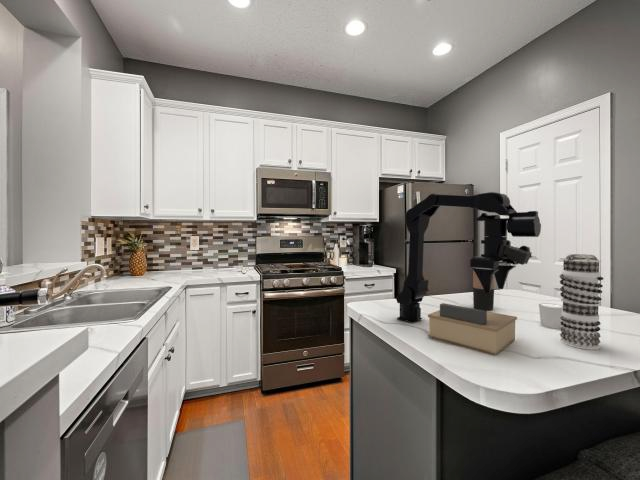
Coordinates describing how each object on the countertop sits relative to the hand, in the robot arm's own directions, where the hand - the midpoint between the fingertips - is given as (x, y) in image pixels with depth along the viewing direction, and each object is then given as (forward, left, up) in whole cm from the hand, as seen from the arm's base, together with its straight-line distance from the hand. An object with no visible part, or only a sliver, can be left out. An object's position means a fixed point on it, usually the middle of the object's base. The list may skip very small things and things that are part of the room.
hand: (494, 290), depth 87 cm
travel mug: (-16, +37, -15) cm, 43 cm away
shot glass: (+8, +29, -15) cm, 33 cm away
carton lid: (-5, -3, -8) cm, 10 cm away
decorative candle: (+17, +15, -15) cm, 27 cm away
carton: (-5, -3, -14) cm, 16 cm away
